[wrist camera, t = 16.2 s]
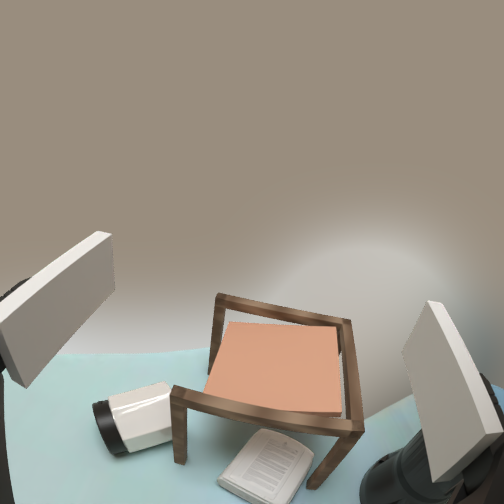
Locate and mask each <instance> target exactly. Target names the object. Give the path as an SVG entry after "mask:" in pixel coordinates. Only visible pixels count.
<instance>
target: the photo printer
mask: <svg viewBox="0 0 504 504" xmlns="http://www.w3.org/2000/svg"><path fill="white" fill-rule="evenodd" d="M314 455H315V454H314V453H313V452H312V451H311V450H310V449H308V448H307V447H306V446H304V445H303V444H302V443H300V442H298V441H297V440H295V439H293V438H291V437H289V436H286V435H284V434H282V433H279V432H276V431H272V430H268V429H263V428H261V429H259V430H258V432H257V433H255V434H254V435H253V436H252V437H251V438H250V439H249V440H248V442H247V443H246V444H245V446H244V447H243V448H242V449H241V451H240V452H239V453H238V454H237V455H236V457H235V458H234V459H233V460H232V461H231V463H230V464H229V465H228V466H227V467H226V469H225V470H224V471H223V472H222V473H221V474H220V476H219V477H218V478H217V482H218V484H219V485H220V486H222V487H224V488H225V489H227V490H229V491H230V492H232V493H234V494H236V495H237V496H239V497H241V498H243V499H245V500H247V501H248V502H250V503H252V504H289V503H290V502H291V500H292V498H293V497H294V495H295V493H296V492H297V490H298V488H299V487H300V485H301V483H302V482H303V480H304V478H305V477H306V475H307V473H308V471H309V469H310V468H311V465H312V462H313V457H314Z"/></svg>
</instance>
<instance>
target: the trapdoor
mask: <svg viewBox="0 0 504 504" xmlns="http://www.w3.org/2000/svg"><path fill="white" fill-rule="evenodd" d="M340 387H341V386H340V370H339V356H338V344H337V332H336V327H327V326H297V325H275V324H258V323H241V322H229V324H228V326H227V329H226V332H225V334H224V337H223V340H222V343H221V345H220V348H219V351H218V353H217V356H216V359H215V361H214V364H213V367H212V369H211V372H210V375H209V377H208V380H207V383H206V385H205V388H204V391H203V393H205V394H209V395H213V396H217V397H221V398H225V399H229V400H234V401H238V402H242V403H247V404H252V405H257V406H261V407H267V408H272V409H277V410H283V411H289V412H295V413H301V414H307V415H314V416H322V417H341V413H342V406H341V388H340Z"/></svg>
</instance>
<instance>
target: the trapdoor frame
mask: <svg viewBox="0 0 504 504" xmlns="http://www.w3.org/2000/svg"><path fill="white" fill-rule="evenodd" d="M226 308H227V309H231V310H236V311H240V312H245V313H249V314H254V315H259V316H263V317H268V318H273V319H277V320H283V321H287V322H292V323H297V324H302V325H307V326H327V327H336V331H337V344H338V356H339V354H340V352H341V351H342V362H343V374H344V389H345V405H346V419H338V418H329V417H322V416H314V415H307V414H301V413H295V412H289V411H283V410H277V409H272V408H267V407H261V406H257V405H252V404H247V403H242V402H238V401H234V400H229V399H225V398H221V397H217V396H213V395H209V394H205V393H202V392H198V391H194V390H191V389H187V388H184V387H180V386H177V385H174V386H173V388H172V390H171V392H170V394H169V396H170V413H171V428H172V441H173V452H174V462H175V463H178V464H181V465H185V462H186V459H187V408H189V409H193V410H197V411H200V412H204V413H208V414H212V415H215V416H220V417H224V418H228V419H232V420H236V421H241V422H246V423H250V424H255V425H260V426H266V427H271V428H277V429H282V430H288V431H295V432H302V433H309V434H317V435H325V436H334V437H340V438H339V439H338V440H337V442H336V443H335V445H334V446H333V447H332V449H331V450H330V452H329V453H328V454H327V456H326V457H325V458H324V460H323V461H322V462H321V464H320V465H319V466H318V468H317V469H316V470H315V471H314V473H313V474H312V475H311V476H310V478H309V479H308V480H307V486H306V489H311V490H316V489H317V488H318V487H319V486H320V485H321V484H322V483H323V482H324V481H325V480H326V479H327V477H328V476H329V475H330V474H331V473H332V472H333V471H334V469H335V468H336V467H337V466H338V465H339V464H340V462H341V461H342V460H343V459H344V458H345V456H346V455H347V454H348V453H349V451H350V450H351V449H352V448H353V446H354V445H355V444H356V443H357V441H358V440H359V439H360V437H361V436H362V435H363V433H364V432H365V428H364V417H363V407H362V398H361V389H360V381H359V373H358V366H357V358H356V351H355V344H354V337H353V331H352V324H351V320H349V319H344V318H338V317H333V316H328V315H322V314H317V313H312V312H307V311H302V310H297V309H292V308H287V307H282V306H277V305H273V304H268V303H263V302H258V301H254V300H249V299H244V298H240V297H235V296H231V295H226V294H222V293H218V294H217V296H216V298H215V307H214V317H213V327H212V336H211V346H210V356H209V367H208V375H210V372H211V369H212V367H213V364H214V361H215V359H216V356H217V353H218V351H219V348H220V345H221V340H222V333H223V332H222V331H223V325H224V317H225V309H226Z"/></svg>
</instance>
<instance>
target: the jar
mask: <svg viewBox="0 0 504 504" xmlns="http://www.w3.org/2000/svg"><path fill="white" fill-rule="evenodd" d="M171 390H172V389H171V388H170V387H169V385H168V384H167V383H166V382H165V381H163V382H159V383H156V384H153V385H149V386H146V387H142V388H139V389H135V390H132V391H128V392H124V393H120V394H117V395H113V396H109V397H108V400H105V401H99V402H97V403H93V404H92V408H93V412H94V416H95V419H96V422H97V425H98V428H99V431H100V433H101V436H102V438H103V440H104V442H105V444H106V446H107V448H108V450H109V451H110V453H111V454H117V453H120V452H124V451H127V449H128V451H129V452H130V453H131V452H135V451H138V450H142V449H145V448H148V447H152V446H155V445H158V444H161V443H164V442H167V441H170V440H172V428H171V413H170V396H169V394H170V392H171Z"/></svg>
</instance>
